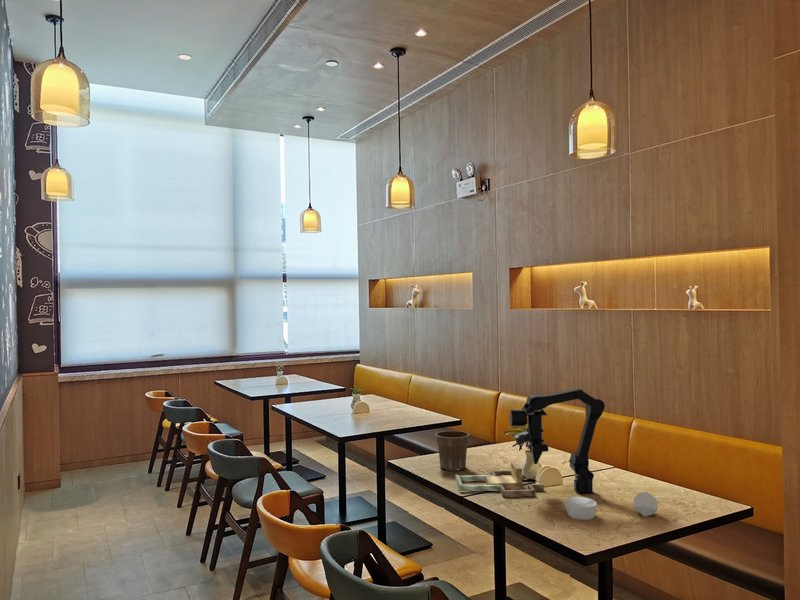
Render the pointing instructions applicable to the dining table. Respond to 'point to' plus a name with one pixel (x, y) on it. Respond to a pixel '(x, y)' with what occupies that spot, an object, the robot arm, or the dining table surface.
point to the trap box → (505, 493)
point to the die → (645, 504)
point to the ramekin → (581, 508)
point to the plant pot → (452, 449)
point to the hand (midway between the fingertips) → (535, 463)
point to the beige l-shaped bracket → (508, 478)
